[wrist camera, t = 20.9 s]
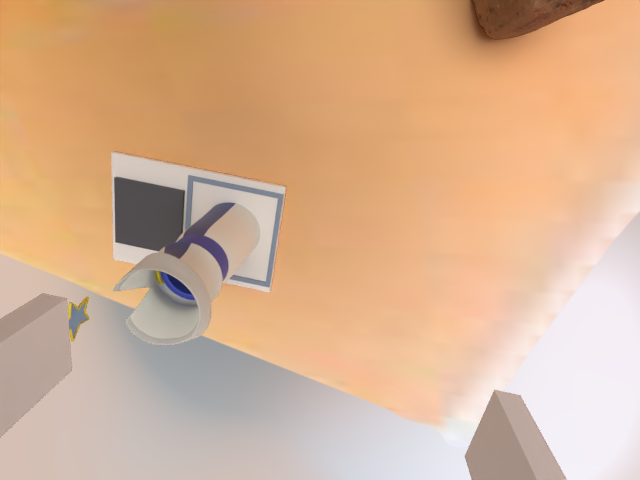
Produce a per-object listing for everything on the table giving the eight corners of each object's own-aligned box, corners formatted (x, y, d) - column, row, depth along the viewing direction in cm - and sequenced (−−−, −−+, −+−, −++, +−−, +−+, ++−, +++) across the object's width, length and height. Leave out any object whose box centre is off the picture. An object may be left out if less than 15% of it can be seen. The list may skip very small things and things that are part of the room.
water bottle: (209, 265, 51) (83, 403, 28) (192, 205, 48) (36, 303, 25) (267, 259, 50) (185, 399, 27) (253, 197, 47) (149, 292, 24)
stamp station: (115, 151, 48) (108, 152, 46) (286, 186, 47) (284, 188, 46) (116, 257, 53) (110, 261, 52) (271, 289, 52) (268, 294, 51)
